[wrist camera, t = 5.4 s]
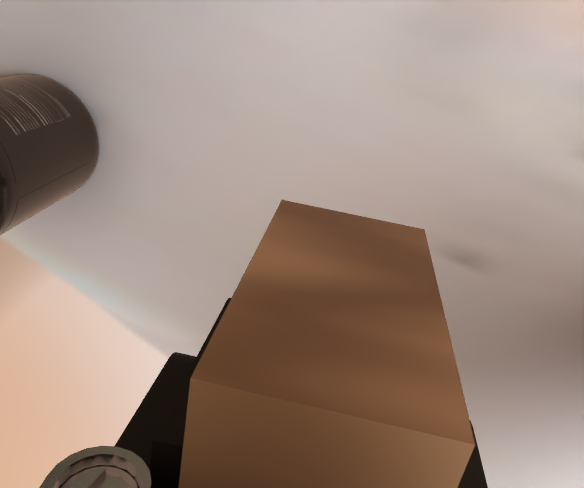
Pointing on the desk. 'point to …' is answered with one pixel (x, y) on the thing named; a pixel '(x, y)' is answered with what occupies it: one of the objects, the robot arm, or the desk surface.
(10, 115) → the supplement bottle
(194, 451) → the block
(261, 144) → the desk surface
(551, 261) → the desk surface
